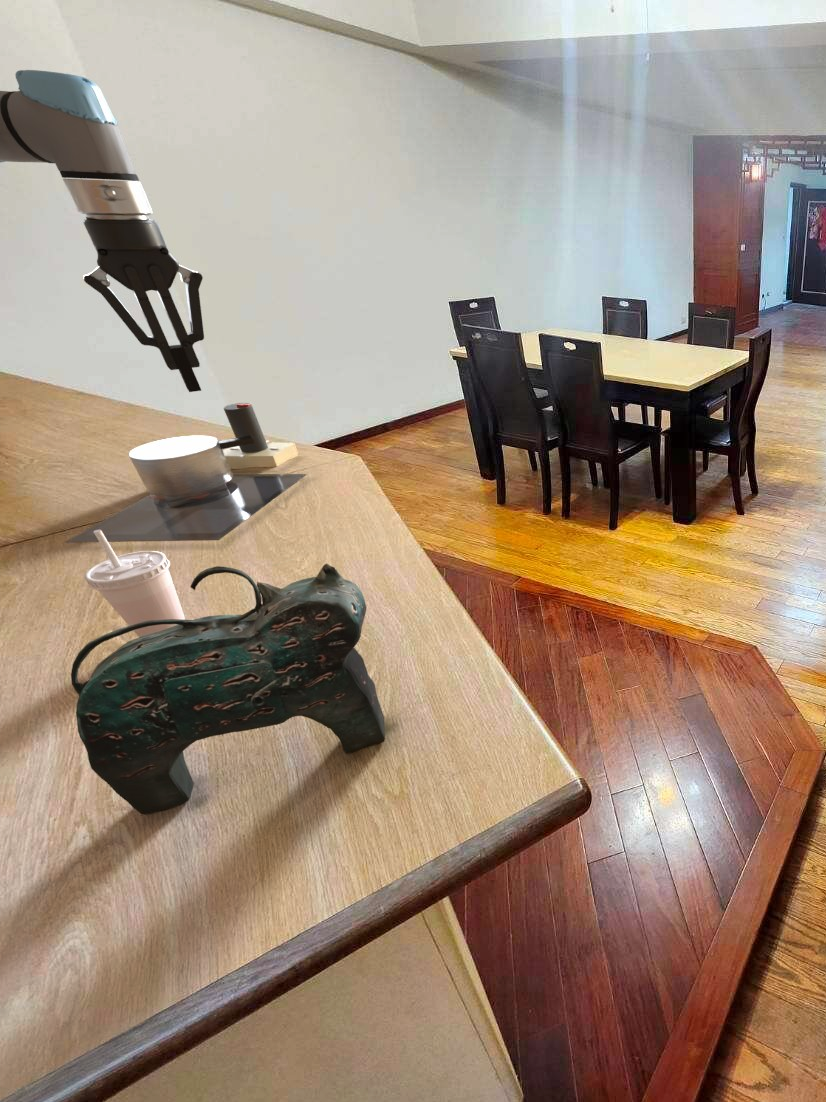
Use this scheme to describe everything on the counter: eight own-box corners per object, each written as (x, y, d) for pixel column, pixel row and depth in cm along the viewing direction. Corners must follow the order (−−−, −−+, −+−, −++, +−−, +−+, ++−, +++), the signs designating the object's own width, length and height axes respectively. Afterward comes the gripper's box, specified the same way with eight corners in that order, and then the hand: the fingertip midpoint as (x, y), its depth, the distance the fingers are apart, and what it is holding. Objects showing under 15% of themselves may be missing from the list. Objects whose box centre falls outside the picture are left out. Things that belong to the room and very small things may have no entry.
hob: (66, 545, 82) (64, 542, 82) (187, 476, 103) (185, 474, 103) (220, 542, 84) (218, 539, 84) (308, 476, 105) (307, 473, 105)
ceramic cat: (404, 705, 59) (342, 530, 49) (407, 751, 54) (339, 568, 44) (146, 779, 51) (6, 587, 40) (122, 841, 46) (-44, 642, 36)
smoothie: (128, 636, 66) (59, 527, 59) (200, 614, 70) (144, 509, 63) (132, 664, 62) (59, 551, 55) (208, 639, 66) (150, 530, 59)
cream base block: (216, 470, 106) (210, 456, 104) (244, 453, 113) (239, 440, 111) (276, 470, 107) (270, 456, 105) (300, 453, 114) (295, 440, 112)
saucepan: (154, 508, 91) (132, 465, 88) (146, 486, 98) (125, 445, 94) (273, 482, 101) (257, 442, 97) (259, 463, 108) (243, 425, 104)
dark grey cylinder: (236, 452, 106) (217, 407, 102) (249, 444, 110) (231, 401, 106) (259, 452, 107) (241, 407, 103) (272, 445, 110) (255, 401, 106)
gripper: (50, 217, 74) (141, 402, 86) (184, 219, 82) (249, 387, 94) (50, 215, 79) (136, 391, 91) (176, 216, 87) (240, 378, 99)
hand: (194, 389), depth 92 cm, fingers closed
